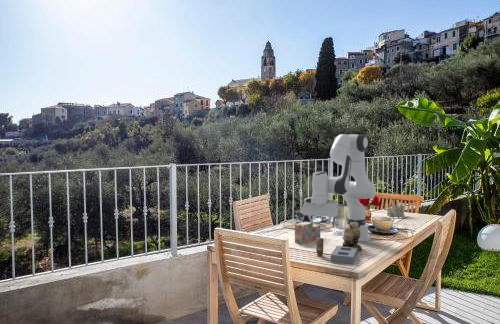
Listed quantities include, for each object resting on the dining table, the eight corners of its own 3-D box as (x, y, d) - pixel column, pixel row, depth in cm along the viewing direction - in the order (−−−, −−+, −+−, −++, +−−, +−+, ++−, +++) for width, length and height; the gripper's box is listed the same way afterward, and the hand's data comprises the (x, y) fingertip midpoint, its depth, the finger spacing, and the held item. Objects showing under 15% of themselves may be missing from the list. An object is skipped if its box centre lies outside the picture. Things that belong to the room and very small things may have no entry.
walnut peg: (316, 254, 231) (316, 237, 231) (324, 255, 230) (324, 238, 229) (315, 256, 227) (315, 239, 227) (322, 257, 226) (322, 239, 225)
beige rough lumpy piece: (346, 245, 252) (347, 218, 252) (365, 248, 246) (365, 220, 245) (336, 251, 237) (336, 223, 237) (355, 254, 231) (356, 225, 230)
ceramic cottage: (401, 214, 356) (400, 198, 354) (407, 219, 339) (406, 201, 338) (383, 215, 357) (382, 199, 356) (388, 220, 341) (387, 202, 340)
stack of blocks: (312, 237, 275) (312, 219, 274) (320, 238, 271) (320, 220, 270) (294, 242, 259) (294, 224, 259) (302, 244, 255) (302, 225, 254)
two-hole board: (336, 252, 235) (336, 245, 235) (357, 254, 230) (357, 247, 230) (330, 262, 216) (330, 254, 216) (353, 264, 212) (353, 257, 212)
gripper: (339, 199, 226) (339, 223, 227) (304, 198, 234) (303, 221, 234) (337, 201, 220) (337, 226, 221) (301, 199, 228) (301, 223, 228)
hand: (319, 223), depth 228 cm, fingers open, 8 cm apart
